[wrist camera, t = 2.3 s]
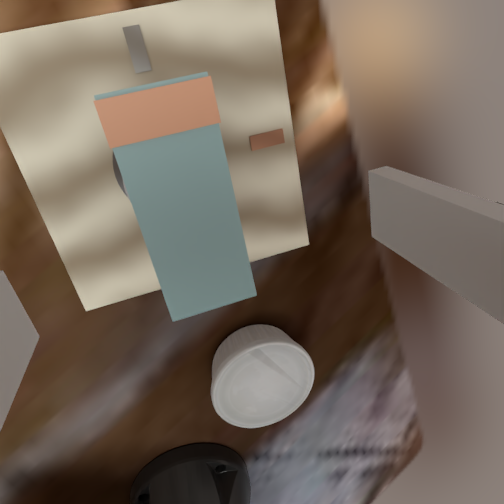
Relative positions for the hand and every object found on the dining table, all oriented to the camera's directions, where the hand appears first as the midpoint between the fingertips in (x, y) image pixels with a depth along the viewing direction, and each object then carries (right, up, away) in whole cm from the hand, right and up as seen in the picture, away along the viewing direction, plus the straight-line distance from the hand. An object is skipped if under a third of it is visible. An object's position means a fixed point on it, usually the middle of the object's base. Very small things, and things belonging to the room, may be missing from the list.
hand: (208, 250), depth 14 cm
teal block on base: (-5, +7, +17) cm, 20 cm away
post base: (-6, +8, +20) cm, 22 cm away
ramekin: (+2, -12, +31) cm, 33 cm away
